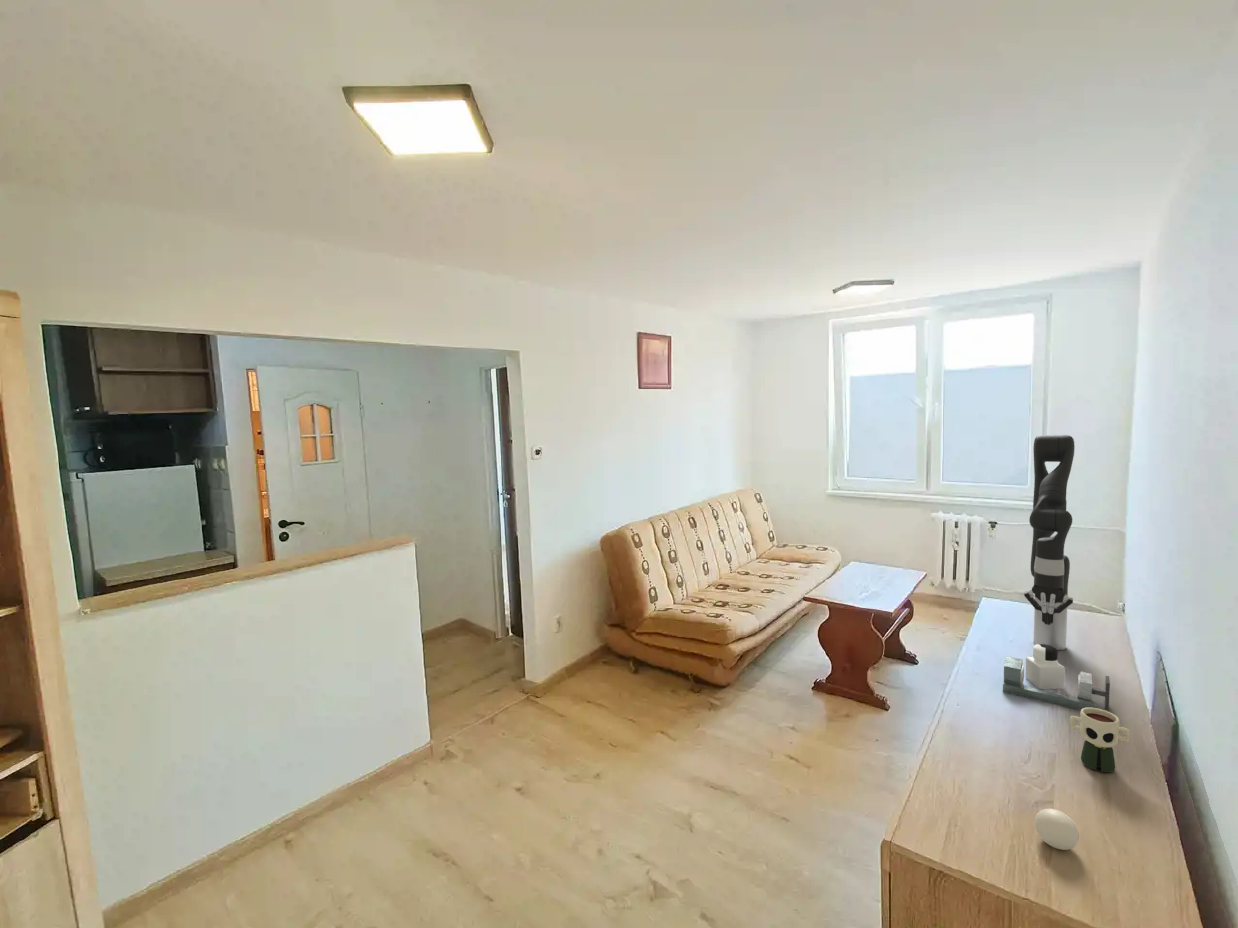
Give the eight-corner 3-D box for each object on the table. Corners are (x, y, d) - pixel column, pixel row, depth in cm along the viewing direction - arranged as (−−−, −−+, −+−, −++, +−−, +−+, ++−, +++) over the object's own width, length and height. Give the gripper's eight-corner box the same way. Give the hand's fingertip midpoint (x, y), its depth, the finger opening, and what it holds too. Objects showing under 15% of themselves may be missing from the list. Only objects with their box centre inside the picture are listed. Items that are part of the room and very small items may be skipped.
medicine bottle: (1048, 678, 176) (1050, 641, 175) (1064, 689, 169) (1065, 651, 168) (1024, 677, 177) (1025, 641, 176) (1039, 689, 170) (1040, 651, 169)
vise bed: (1006, 678, 177) (1006, 656, 176) (1095, 698, 163) (1096, 674, 162) (1002, 691, 169) (1003, 668, 168) (1095, 714, 155) (1096, 688, 155)
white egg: (1062, 830, 115) (1063, 800, 114) (1085, 859, 108) (1087, 827, 107) (1026, 828, 116) (1027, 798, 115) (1047, 856, 109) (1048, 824, 108)
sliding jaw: (1077, 694, 166) (1078, 668, 165) (1107, 701, 161) (1109, 674, 160) (1077, 705, 160) (1078, 678, 159) (1108, 712, 155) (1110, 685, 155)
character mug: (1068, 765, 135) (1070, 714, 133) (1068, 750, 140) (1070, 701, 139) (1129, 782, 128) (1132, 729, 127) (1126, 766, 134) (1129, 715, 132)
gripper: (1076, 571, 175) (1074, 624, 177) (1024, 565, 184) (1022, 616, 185) (1075, 577, 170) (1073, 632, 171) (1022, 570, 178) (1021, 623, 180)
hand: (1047, 623), depth 178 cm, fingers closed
